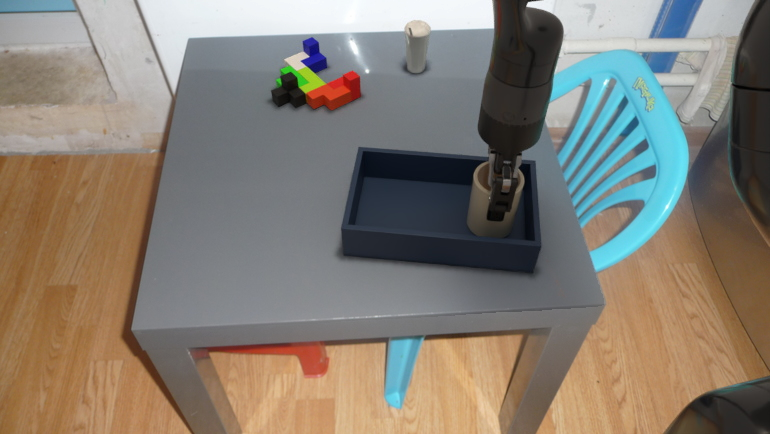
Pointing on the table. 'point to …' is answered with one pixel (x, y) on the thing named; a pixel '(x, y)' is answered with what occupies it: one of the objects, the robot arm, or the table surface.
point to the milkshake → (416, 45)
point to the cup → (480, 204)
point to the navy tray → (432, 212)
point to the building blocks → (313, 81)
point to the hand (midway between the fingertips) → (494, 198)
